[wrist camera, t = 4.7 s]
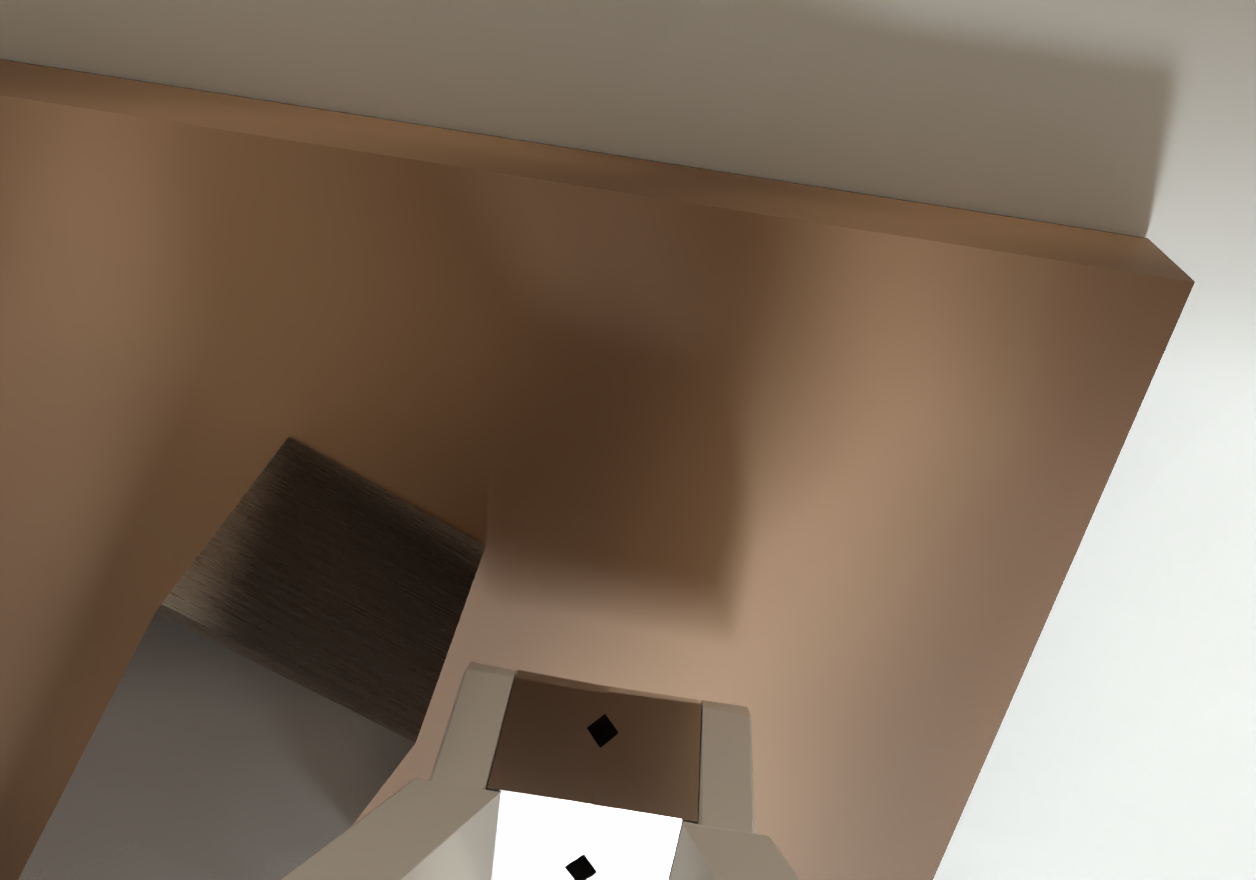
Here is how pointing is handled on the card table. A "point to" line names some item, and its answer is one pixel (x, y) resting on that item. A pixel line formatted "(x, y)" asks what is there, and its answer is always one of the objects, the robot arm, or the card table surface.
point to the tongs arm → (267, 686)
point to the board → (561, 426)
